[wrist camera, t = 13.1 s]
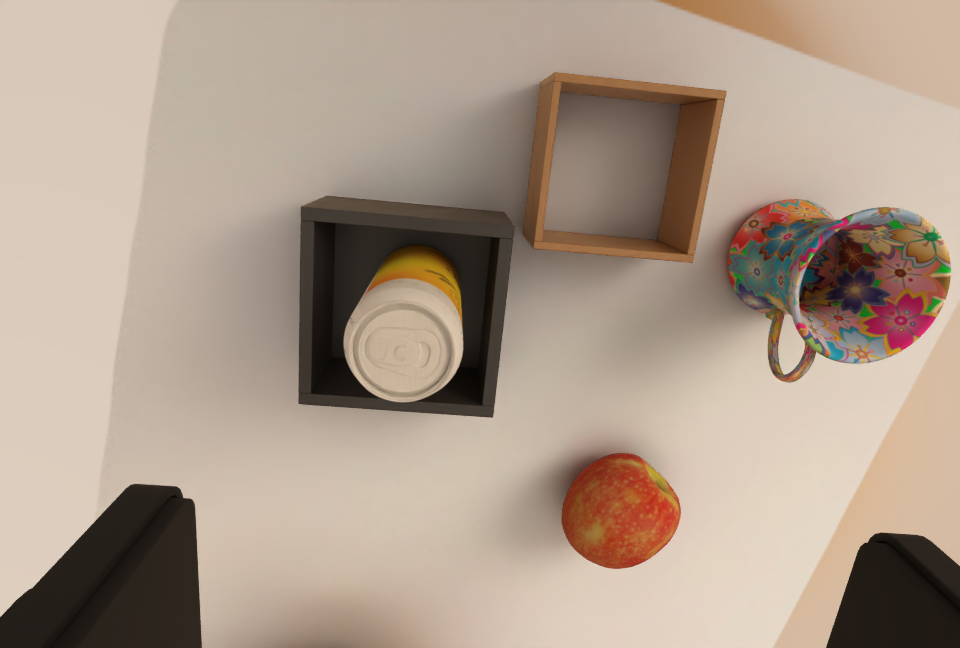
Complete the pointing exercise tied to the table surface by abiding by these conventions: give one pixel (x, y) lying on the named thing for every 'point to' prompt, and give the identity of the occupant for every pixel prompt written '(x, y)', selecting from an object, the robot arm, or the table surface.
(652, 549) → the apple
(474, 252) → the dark grey open box
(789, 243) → the mug
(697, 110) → the wooden square frame
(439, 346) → the beer can
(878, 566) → the robot arm
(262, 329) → the table surface
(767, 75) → the table surface
